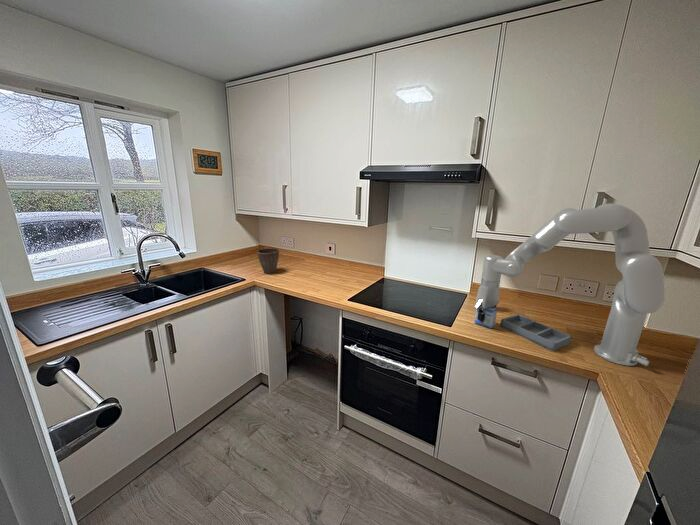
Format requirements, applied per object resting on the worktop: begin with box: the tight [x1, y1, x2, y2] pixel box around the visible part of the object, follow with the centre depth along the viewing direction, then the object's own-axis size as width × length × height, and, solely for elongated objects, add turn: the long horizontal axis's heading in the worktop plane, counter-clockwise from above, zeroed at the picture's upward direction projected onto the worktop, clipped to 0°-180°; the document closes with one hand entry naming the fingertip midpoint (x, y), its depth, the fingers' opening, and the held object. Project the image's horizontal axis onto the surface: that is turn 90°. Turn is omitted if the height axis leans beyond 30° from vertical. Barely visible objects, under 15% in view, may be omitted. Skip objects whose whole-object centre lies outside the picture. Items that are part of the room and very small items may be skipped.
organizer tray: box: [499, 313, 573, 352], centre depth 124 cm, size 23×13×4 cm, turn 28°
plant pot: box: [256, 247, 280, 275], centre depth 201 cm, size 15×15×16 cm
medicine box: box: [474, 305, 498, 329], centre depth 131 cm, size 8×4×9 cm, turn 44°
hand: (485, 319), depth 131 cm, fingers closed on medicine box, 5 cm apart
